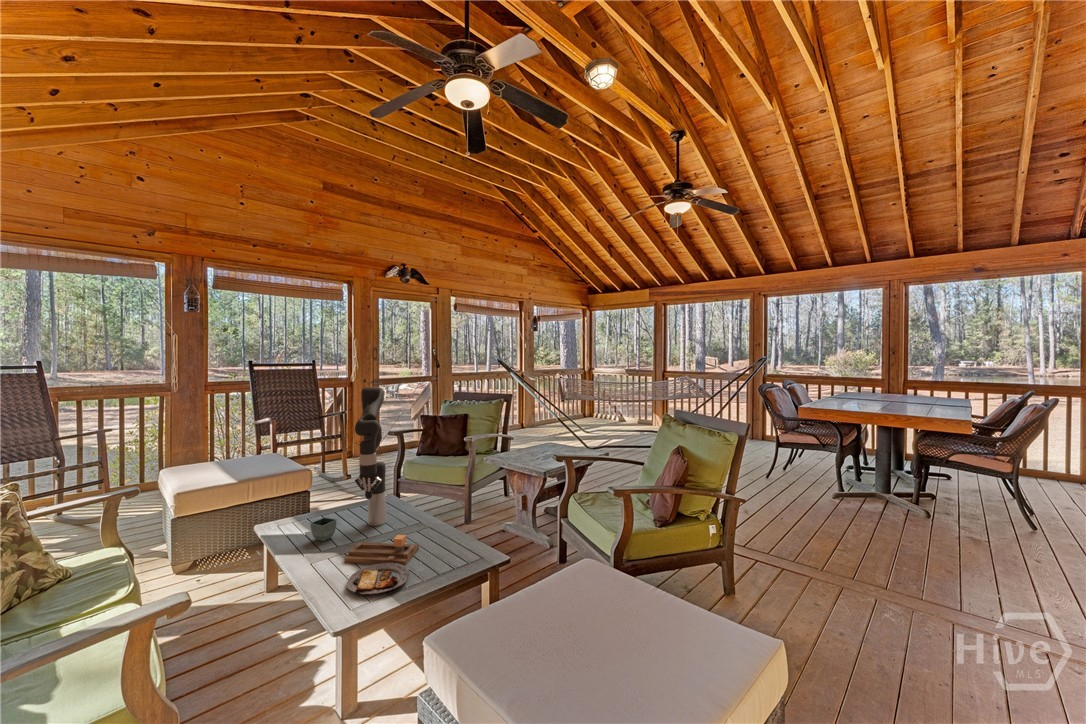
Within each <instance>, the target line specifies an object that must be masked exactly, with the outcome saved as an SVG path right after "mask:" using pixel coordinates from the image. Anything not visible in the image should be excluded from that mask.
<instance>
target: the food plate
mask: <svg viewBox="0 0 1086 724" xmlns="http://www.w3.org/2000/svg"><path fill="white" fill-rule="evenodd" d="M379 573H380V577H379ZM393 573H395V574H397V576H396V575H392V576H391V574H393ZM409 573H410V568H409V567H408V566H406V565H401V564H398V563H382V564H370V565H368V566H364V567H362V568H360V569H358V570H356V571H355V572H354V573H352V574H351V575H350V576H349V578H348V581H347V583H346V585H345V588H346V590H348V591H349V592H350V593H352V594H355V595H358V596H359V595H379V594H383V593H387V592H389V591H394V590H396V589H398V588H400V587H402V586H403V584H405V583H406V582H407V581H408V578H409Z"/></svg>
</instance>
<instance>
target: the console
mask: <svg viewBox="0 0 1086 724" xmlns="http://www.w3.org/2000/svg"><path fill="white" fill-rule="evenodd" d="M419 550H420V546H419V544H411V543H407V542H406V543H405V544H404V551H403V552H402V551H396V547H395V546H394V543H393V542H392V543H389V542H388V543H387V542H366V541H365V542H364V541H359V542H358V543H356V544H355V545H354V546H353V547H352V548H350V549H349V550H348V553H347V555H346V556H345V557H344V563H349V564H350V563H351V564H368V565H375V564H382V563H398V564H401V565H404V566H406V564H408V562H409V561H410V560H411V559H412V558H413V557H414V555H415V554H416V553H417V552H418V551H419Z"/></svg>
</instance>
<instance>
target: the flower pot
mask: <svg viewBox="0 0 1086 724" xmlns="http://www.w3.org/2000/svg"><path fill="white" fill-rule="evenodd" d="M309 525H310V530H311V535H312V537H313V538H314V539H315V540H316V541H321V542H325V541H327V540H330V539H332V537H333V536H334V535H335V531H336V528H337V519H335V518H332V517H331V518H330V517H325V516H324V517H322V518H319V519H316V520H315V521H312V522H310V523H309Z"/></svg>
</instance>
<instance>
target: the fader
mask: <svg viewBox="0 0 1086 724" xmlns="http://www.w3.org/2000/svg"><path fill="white" fill-rule="evenodd" d="M392 543H393V544H394V546H395V547H396V551H402V552H403V551H404V544H405V543H407V535H406V534H397V535H396V536H394V538H393V542H392Z"/></svg>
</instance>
